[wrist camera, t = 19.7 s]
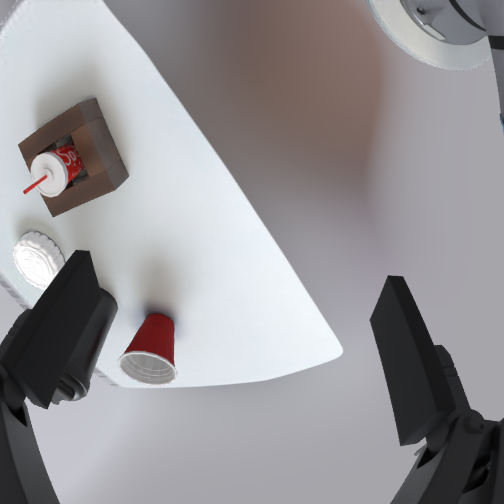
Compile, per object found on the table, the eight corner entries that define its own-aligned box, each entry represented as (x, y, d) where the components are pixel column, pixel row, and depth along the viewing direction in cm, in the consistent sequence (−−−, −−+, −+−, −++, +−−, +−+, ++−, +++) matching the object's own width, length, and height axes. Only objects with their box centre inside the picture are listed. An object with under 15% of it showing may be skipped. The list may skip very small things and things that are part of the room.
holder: (36, 135, 38) (17, 144, 34) (96, 98, 36) (77, 103, 31) (68, 203, 45) (52, 217, 41) (129, 176, 42) (115, 190, 38)
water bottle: (69, 293, 56) (18, 381, 37) (95, 274, 53) (40, 373, 34) (102, 325, 61) (63, 414, 42) (131, 310, 58) (92, 411, 38)
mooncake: (70, 249, 50) (61, 261, 47) (62, 290, 56) (54, 301, 53) (22, 220, 47) (12, 230, 44) (19, 263, 53) (10, 273, 50)
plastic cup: (176, 347, 63) (165, 394, 53) (129, 326, 60) (112, 372, 50) (196, 319, 58) (186, 370, 48) (144, 294, 55) (125, 344, 45)
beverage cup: (102, 163, 41) (51, 205, 30) (74, 178, 42) (22, 221, 31) (86, 128, 38) (28, 159, 26) (58, 145, 39) (1, 180, 28)
